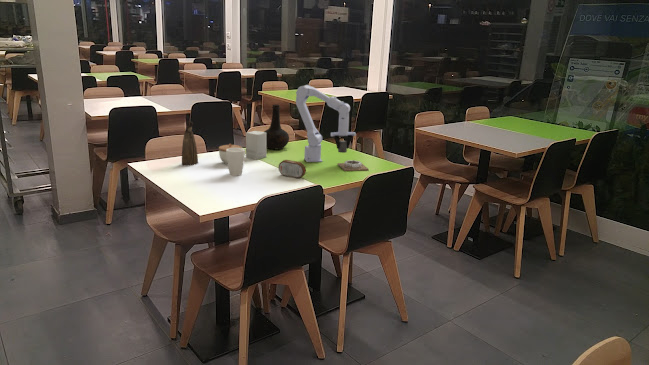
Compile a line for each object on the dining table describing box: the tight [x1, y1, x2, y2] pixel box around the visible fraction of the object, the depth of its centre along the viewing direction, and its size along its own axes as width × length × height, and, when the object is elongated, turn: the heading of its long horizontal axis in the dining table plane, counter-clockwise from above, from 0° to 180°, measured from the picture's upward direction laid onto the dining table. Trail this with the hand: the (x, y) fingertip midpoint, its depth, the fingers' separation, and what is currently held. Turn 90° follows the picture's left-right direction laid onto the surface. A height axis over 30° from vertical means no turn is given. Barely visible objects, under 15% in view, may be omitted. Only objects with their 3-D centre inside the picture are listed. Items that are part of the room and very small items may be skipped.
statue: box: [181, 119, 199, 166], centre depth 263 cm, size 9×8×25 cm
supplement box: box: [245, 130, 267, 160], centre depth 285 cm, size 9×9×15 cm
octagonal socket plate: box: [337, 159, 370, 172], centre depth 273 cm, size 14×14×3 cm
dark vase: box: [263, 104, 290, 150], centre depth 308 cm, size 18×18×28 cm
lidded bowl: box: [218, 143, 243, 165], centre depth 270 cm, size 13×13×11 cm
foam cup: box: [226, 147, 246, 177], centre depth 249 cm, size 10×9×13 cm
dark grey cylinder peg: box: [337, 140, 348, 154], centre depth 278 cm, size 5×5×6 cm
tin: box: [278, 159, 307, 179], centre depth 249 cm, size 15×3×8 cm, turn 65°
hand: (342, 148), depth 278 cm, fingers closed on dark grey cylinder peg, 5 cm apart
